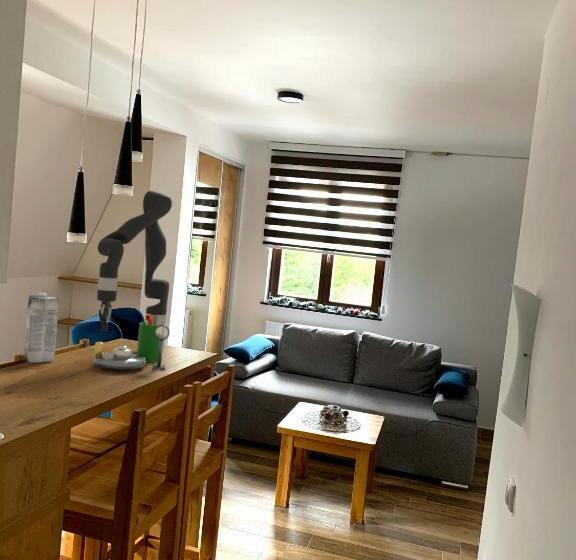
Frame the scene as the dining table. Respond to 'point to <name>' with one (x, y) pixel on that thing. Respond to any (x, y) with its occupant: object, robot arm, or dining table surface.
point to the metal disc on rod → (160, 344)
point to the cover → (122, 353)
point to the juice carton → (41, 328)
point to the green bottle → (148, 340)
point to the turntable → (109, 362)
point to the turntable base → (118, 369)
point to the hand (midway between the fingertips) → (103, 331)
